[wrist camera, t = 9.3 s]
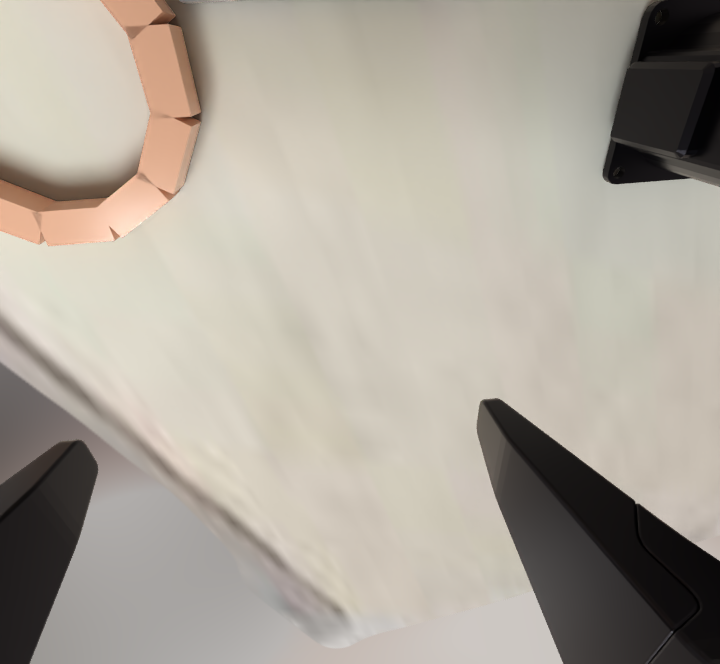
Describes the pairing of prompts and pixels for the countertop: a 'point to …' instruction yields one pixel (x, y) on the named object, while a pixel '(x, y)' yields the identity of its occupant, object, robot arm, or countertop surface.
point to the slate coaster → (202, 1)
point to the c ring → (160, 150)
